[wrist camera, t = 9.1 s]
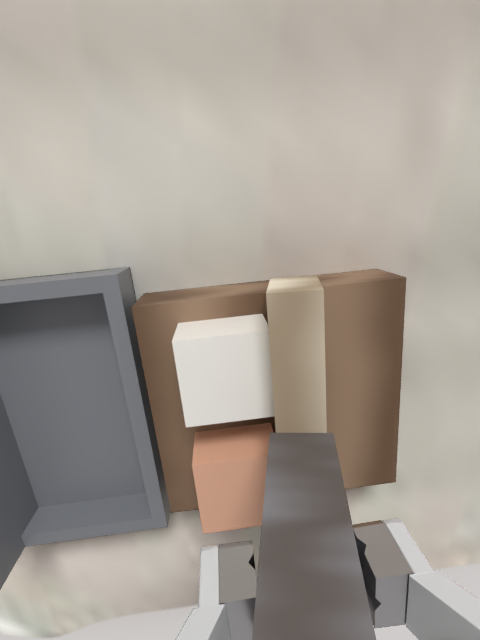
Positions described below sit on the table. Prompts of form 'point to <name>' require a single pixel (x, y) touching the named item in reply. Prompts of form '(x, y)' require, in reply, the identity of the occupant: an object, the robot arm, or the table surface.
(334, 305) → the brown square slab
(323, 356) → the grey block with handle
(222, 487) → the tile
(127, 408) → the box
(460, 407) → the table surface
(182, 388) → the tile
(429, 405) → the table surface
